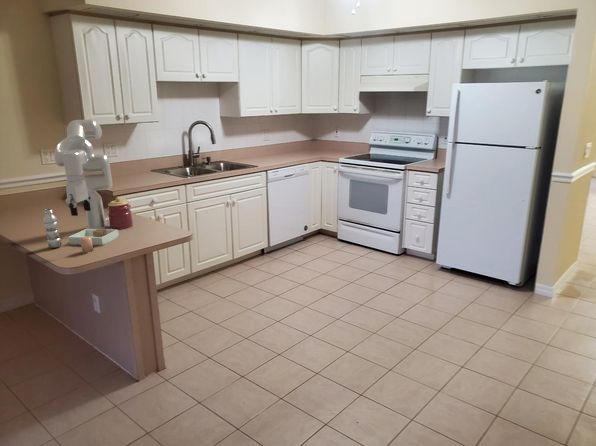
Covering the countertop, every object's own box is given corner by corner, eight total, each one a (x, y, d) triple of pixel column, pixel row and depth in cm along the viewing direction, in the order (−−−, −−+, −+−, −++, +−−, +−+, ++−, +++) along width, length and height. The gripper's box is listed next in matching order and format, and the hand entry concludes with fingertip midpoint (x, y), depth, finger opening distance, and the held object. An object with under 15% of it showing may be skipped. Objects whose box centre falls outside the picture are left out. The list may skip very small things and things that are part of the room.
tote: (87, 235, 256) (85, 228, 255) (118, 236, 252) (117, 229, 251) (69, 244, 242) (68, 237, 241) (102, 245, 238) (101, 237, 237)
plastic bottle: (64, 244, 242) (57, 207, 236) (58, 249, 235) (51, 211, 230) (52, 245, 241) (45, 208, 236) (45, 249, 235) (38, 211, 229)
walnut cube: (99, 237, 249) (98, 228, 248) (108, 237, 248) (106, 228, 247) (94, 240, 244) (92, 231, 243) (102, 240, 243) (101, 231, 242)
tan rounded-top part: (86, 249, 233) (84, 236, 231) (95, 250, 232) (93, 236, 230) (80, 253, 228) (77, 239, 226) (89, 253, 227) (87, 239, 225)
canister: (125, 230, 264) (121, 200, 259) (105, 229, 267) (100, 199, 262) (137, 223, 277) (133, 195, 272) (118, 223, 279) (113, 194, 274)
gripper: (80, 175, 229) (85, 208, 233) (55, 181, 212) (62, 217, 217) (93, 175, 227) (99, 208, 232) (70, 181, 211) (76, 217, 215)
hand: (81, 213), depth 224 cm, fingers open, 9 cm apart
